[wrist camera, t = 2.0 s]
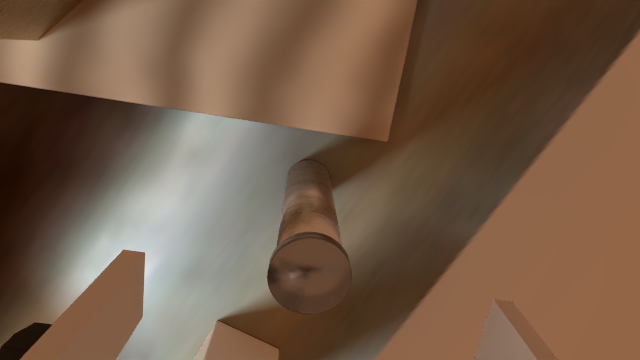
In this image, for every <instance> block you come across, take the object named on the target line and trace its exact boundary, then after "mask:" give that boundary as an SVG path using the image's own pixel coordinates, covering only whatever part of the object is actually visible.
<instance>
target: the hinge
mask: <svg viewBox="0 0 640 360" xmlns="http://www.w3.org/2000/svg"><path fill="white" fill-rule="evenodd" d="M83 1H84V0H0V39H7V40H33V41H38V40H39V39H40V38H41V37H42V36H44V35H45V34H46V33H47V32H48V31H49V30H50V29H52V28H53V27H54V26H55V25H56V24H57V23H59V22H60V21H61V20H62V19H63V18H64V17H65V16H67V15H68V14H69V13H70V12H71V11H72V10H73V9H75V8H76V7H77V6H78V5H79V4H80V3H81V2H83Z"/></svg>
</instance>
